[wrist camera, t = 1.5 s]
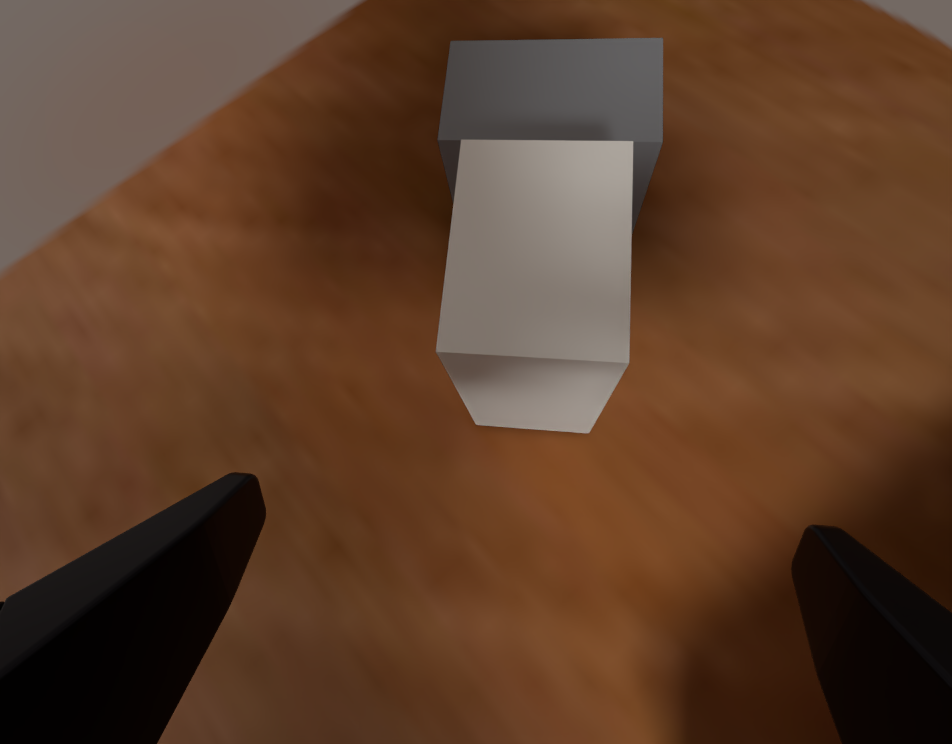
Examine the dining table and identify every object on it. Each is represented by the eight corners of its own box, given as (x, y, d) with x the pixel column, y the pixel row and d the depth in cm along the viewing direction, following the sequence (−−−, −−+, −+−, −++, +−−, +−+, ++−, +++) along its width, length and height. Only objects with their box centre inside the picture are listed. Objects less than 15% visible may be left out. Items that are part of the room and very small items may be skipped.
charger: (588, 433, 21) (628, 363, 12) (476, 424, 22) (435, 351, 13) (597, 201, 24) (635, 5, 15) (497, 199, 25) (477, 8, 16)
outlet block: (623, 259, 24) (663, 141, 16) (465, 253, 25) (437, 139, 17) (625, 180, 25) (662, 38, 18) (474, 177, 26) (450, 40, 18)
